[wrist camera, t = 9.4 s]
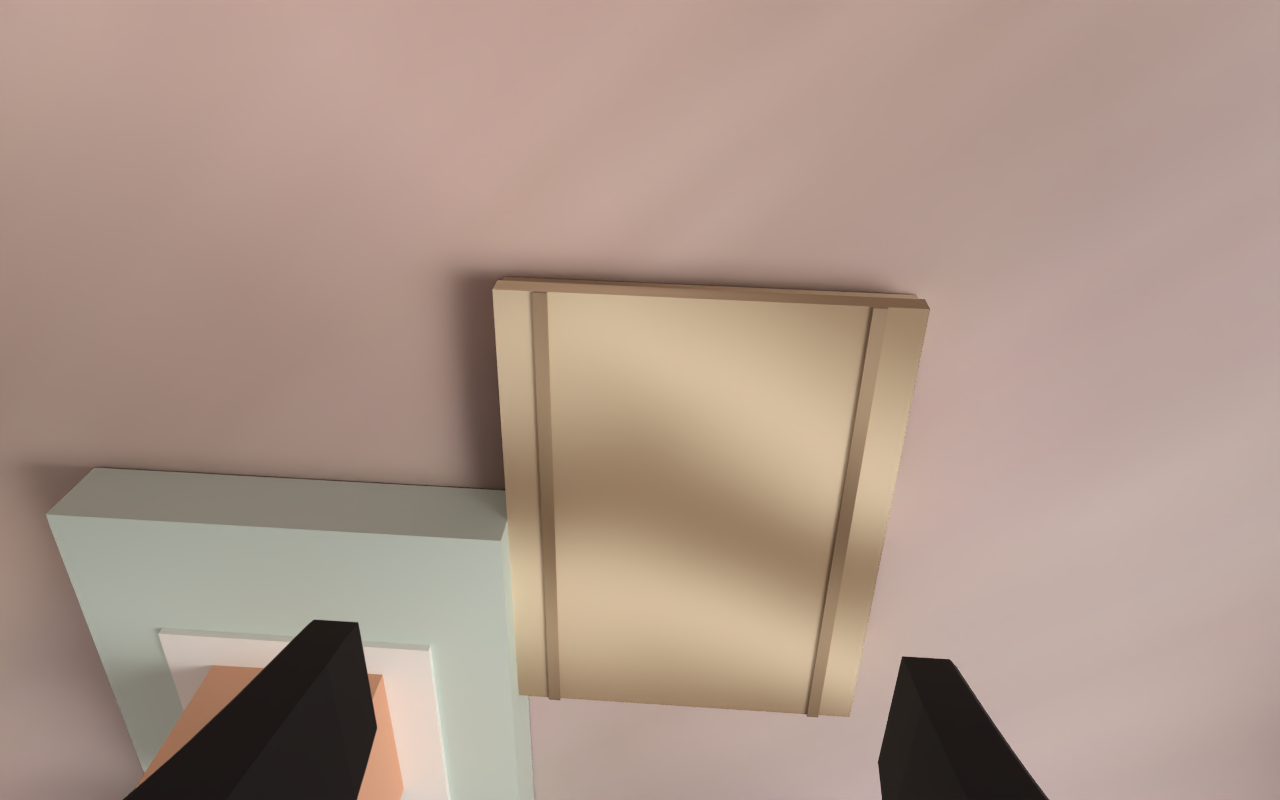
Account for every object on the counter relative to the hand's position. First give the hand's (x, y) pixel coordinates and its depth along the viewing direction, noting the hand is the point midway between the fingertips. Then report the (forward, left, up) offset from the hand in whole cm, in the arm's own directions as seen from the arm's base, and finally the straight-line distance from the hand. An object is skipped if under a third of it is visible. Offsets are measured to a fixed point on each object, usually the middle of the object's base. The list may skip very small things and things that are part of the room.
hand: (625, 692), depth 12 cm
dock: (-11, +9, -10) cm, 17 cm away
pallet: (-4, -1, -10) cm, 11 cm away
